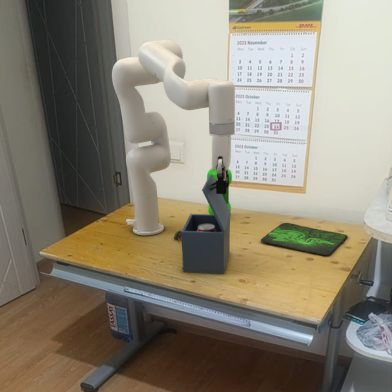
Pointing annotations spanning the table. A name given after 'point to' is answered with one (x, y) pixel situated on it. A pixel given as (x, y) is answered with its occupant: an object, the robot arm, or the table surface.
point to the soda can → (206, 228)
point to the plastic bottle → (225, 196)
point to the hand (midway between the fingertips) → (222, 189)
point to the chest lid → (216, 202)
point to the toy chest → (204, 245)
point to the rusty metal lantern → (178, 235)
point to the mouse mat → (305, 239)
